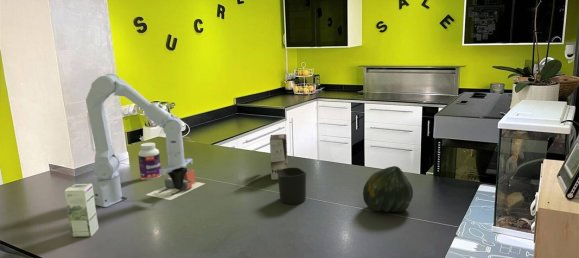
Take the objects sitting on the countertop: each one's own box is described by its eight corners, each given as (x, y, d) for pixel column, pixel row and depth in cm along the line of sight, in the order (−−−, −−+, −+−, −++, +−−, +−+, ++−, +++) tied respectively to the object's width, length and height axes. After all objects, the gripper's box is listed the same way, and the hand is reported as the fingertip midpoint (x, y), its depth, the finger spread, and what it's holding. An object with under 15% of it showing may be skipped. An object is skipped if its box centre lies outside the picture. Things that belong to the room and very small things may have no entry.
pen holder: (309, 195, 149) (308, 168, 147) (303, 206, 140) (302, 177, 138) (283, 194, 152) (282, 166, 149) (275, 204, 143) (274, 175, 141)
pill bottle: (147, 183, 168) (143, 148, 164) (137, 179, 173) (133, 144, 170) (165, 178, 173) (162, 143, 170) (155, 174, 179) (151, 140, 175)
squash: (351, 186, 141) (368, 160, 130) (390, 181, 147) (410, 156, 135) (367, 225, 134) (387, 202, 122) (407, 218, 139) (430, 196, 127)
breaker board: (170, 203, 147) (170, 199, 146) (146, 197, 153) (145, 194, 152) (205, 186, 162) (205, 183, 162) (181, 182, 168) (181, 179, 168)
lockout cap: (188, 186, 159) (186, 172, 158) (180, 184, 161) (178, 171, 160) (195, 182, 163) (194, 169, 162) (187, 181, 165) (186, 168, 164)
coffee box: (287, 179, 167) (286, 139, 163) (271, 180, 167) (269, 139, 163) (288, 172, 176) (286, 133, 172) (272, 172, 176) (270, 134, 172)
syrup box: (99, 228, 129) (92, 182, 126) (91, 237, 123) (84, 189, 120) (80, 229, 129) (73, 183, 126) (71, 238, 123) (63, 190, 120)
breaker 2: (187, 191, 154) (186, 183, 153) (177, 189, 156) (176, 181, 155) (192, 188, 156) (192, 180, 156) (183, 186, 159) (182, 178, 158)
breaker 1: (173, 188, 157) (172, 180, 156) (165, 187, 159) (164, 179, 158) (179, 186, 160) (178, 178, 159) (171, 184, 162) (170, 176, 161)
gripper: (168, 158, 143) (172, 197, 146) (198, 148, 155) (200, 183, 158) (153, 156, 146) (157, 193, 149) (183, 146, 159) (186, 181, 161)
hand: (178, 188), depth 154 cm, fingers closed
